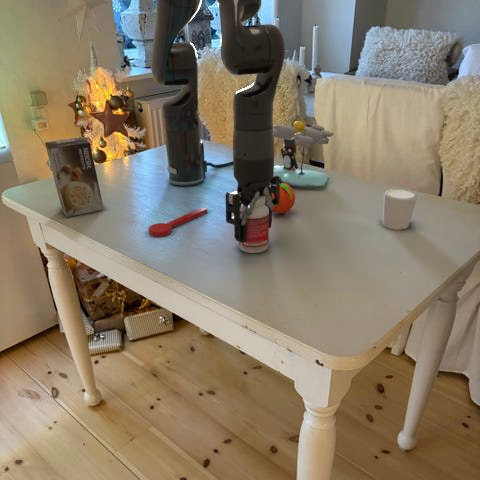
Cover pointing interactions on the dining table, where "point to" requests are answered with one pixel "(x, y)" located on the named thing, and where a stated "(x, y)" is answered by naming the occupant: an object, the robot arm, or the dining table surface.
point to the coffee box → (75, 176)
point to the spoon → (174, 223)
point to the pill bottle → (256, 228)
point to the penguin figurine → (304, 139)
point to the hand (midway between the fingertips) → (253, 234)
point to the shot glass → (398, 208)
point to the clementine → (284, 199)
